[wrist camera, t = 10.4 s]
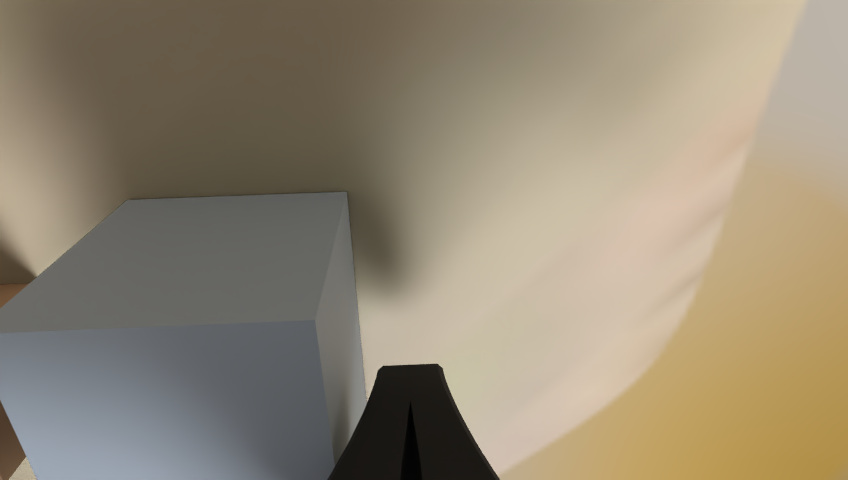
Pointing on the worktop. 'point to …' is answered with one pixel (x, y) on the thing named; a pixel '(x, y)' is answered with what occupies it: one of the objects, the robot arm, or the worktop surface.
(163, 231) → the blue-grey block
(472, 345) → the worktop surface
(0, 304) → the slat
